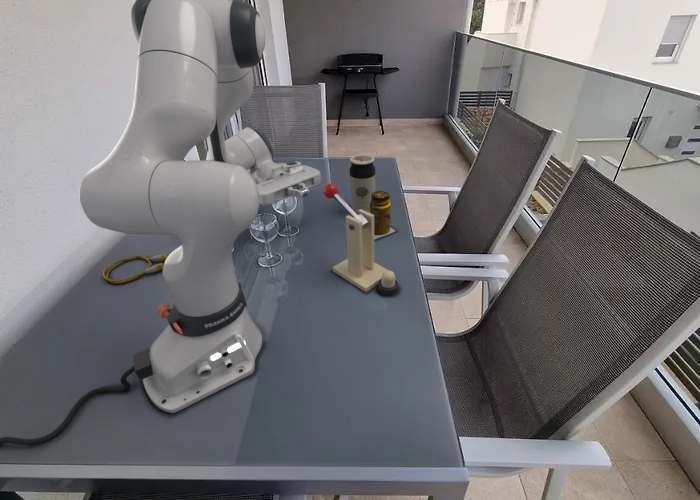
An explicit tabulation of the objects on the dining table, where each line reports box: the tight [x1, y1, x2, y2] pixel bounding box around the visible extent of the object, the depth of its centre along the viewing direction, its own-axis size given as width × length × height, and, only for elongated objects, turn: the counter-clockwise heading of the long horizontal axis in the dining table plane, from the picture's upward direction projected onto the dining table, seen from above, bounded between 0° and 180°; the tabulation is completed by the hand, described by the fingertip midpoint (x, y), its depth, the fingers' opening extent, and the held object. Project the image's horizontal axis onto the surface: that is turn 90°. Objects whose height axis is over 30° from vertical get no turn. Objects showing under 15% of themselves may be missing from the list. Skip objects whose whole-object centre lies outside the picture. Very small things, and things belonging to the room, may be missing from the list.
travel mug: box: [349, 154, 376, 215], centre depth 111 cm, size 8×8×18 cm
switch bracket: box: [332, 209, 388, 293], centre depth 84 cm, size 12×9×17 cm
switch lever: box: [322, 182, 369, 230], centre depth 82 cm, size 14×4×4 cm, turn 44°
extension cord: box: [102, 254, 170, 285], centre depth 93 cm, size 12×16×2 cm
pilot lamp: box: [377, 269, 399, 297], centre depth 82 cm, size 5×5×5 cm
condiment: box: [370, 190, 396, 241], centre depth 102 cm, size 7×8×12 cm
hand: (305, 193), depth 93 cm, fingers closed
